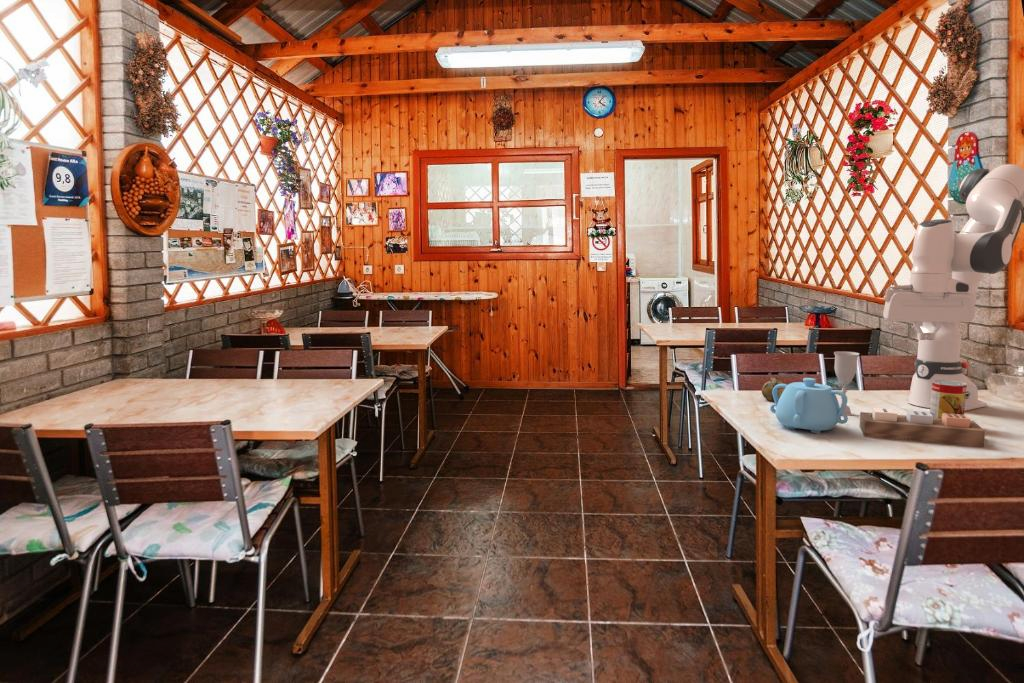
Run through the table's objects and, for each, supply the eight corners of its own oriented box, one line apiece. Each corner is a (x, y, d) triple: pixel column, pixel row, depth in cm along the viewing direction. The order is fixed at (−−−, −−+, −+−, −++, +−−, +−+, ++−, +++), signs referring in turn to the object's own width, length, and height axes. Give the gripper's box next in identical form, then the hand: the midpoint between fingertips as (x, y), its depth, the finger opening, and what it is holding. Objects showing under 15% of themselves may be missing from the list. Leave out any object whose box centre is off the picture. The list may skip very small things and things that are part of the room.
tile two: (909, 425, 171) (910, 414, 170) (906, 420, 175) (907, 409, 175) (932, 427, 169) (933, 415, 168) (928, 422, 173) (929, 411, 173)
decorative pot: (825, 421, 189) (827, 373, 187) (851, 436, 173) (854, 384, 171) (766, 420, 189) (768, 373, 188) (787, 435, 173) (790, 383, 172)
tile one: (874, 422, 174) (875, 411, 173) (872, 418, 178) (872, 407, 178) (896, 424, 172) (897, 413, 171) (893, 419, 176) (894, 408, 176)
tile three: (945, 428, 168) (946, 416, 167) (941, 423, 172) (942, 412, 172) (969, 430, 166) (970, 418, 166) (964, 425, 170) (965, 414, 170)
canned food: (969, 429, 179) (973, 385, 178) (940, 429, 180) (943, 385, 178) (951, 422, 187) (954, 379, 186) (922, 421, 187) (926, 379, 186)
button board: (864, 436, 172) (865, 421, 172) (859, 426, 182) (860, 411, 182) (983, 447, 163) (985, 431, 162) (971, 435, 173) (973, 420, 172)
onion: (791, 403, 211) (792, 378, 210) (766, 403, 211) (767, 378, 210) (782, 398, 218) (783, 374, 217) (757, 398, 219) (758, 374, 218)
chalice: (858, 416, 193) (863, 355, 191) (833, 415, 194) (837, 354, 192) (851, 411, 200) (855, 351, 198) (827, 410, 201) (830, 351, 199)
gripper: (891, 285, 166) (887, 340, 168) (980, 285, 163) (975, 342, 165) (881, 284, 172) (877, 337, 174) (967, 284, 169) (962, 338, 171)
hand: (925, 339), depth 169 cm, fingers closed
